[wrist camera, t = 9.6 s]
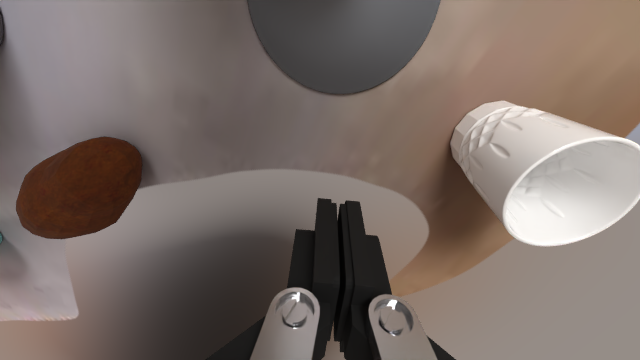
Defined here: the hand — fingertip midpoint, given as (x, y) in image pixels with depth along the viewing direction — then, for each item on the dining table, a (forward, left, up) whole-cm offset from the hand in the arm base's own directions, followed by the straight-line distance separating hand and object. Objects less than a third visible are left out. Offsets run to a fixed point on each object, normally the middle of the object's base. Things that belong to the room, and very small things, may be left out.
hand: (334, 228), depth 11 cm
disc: (-6, +6, -15) cm, 18 cm away
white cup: (+11, +10, -15) cm, 21 cm away
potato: (-10, -21, -15) cm, 28 cm away
